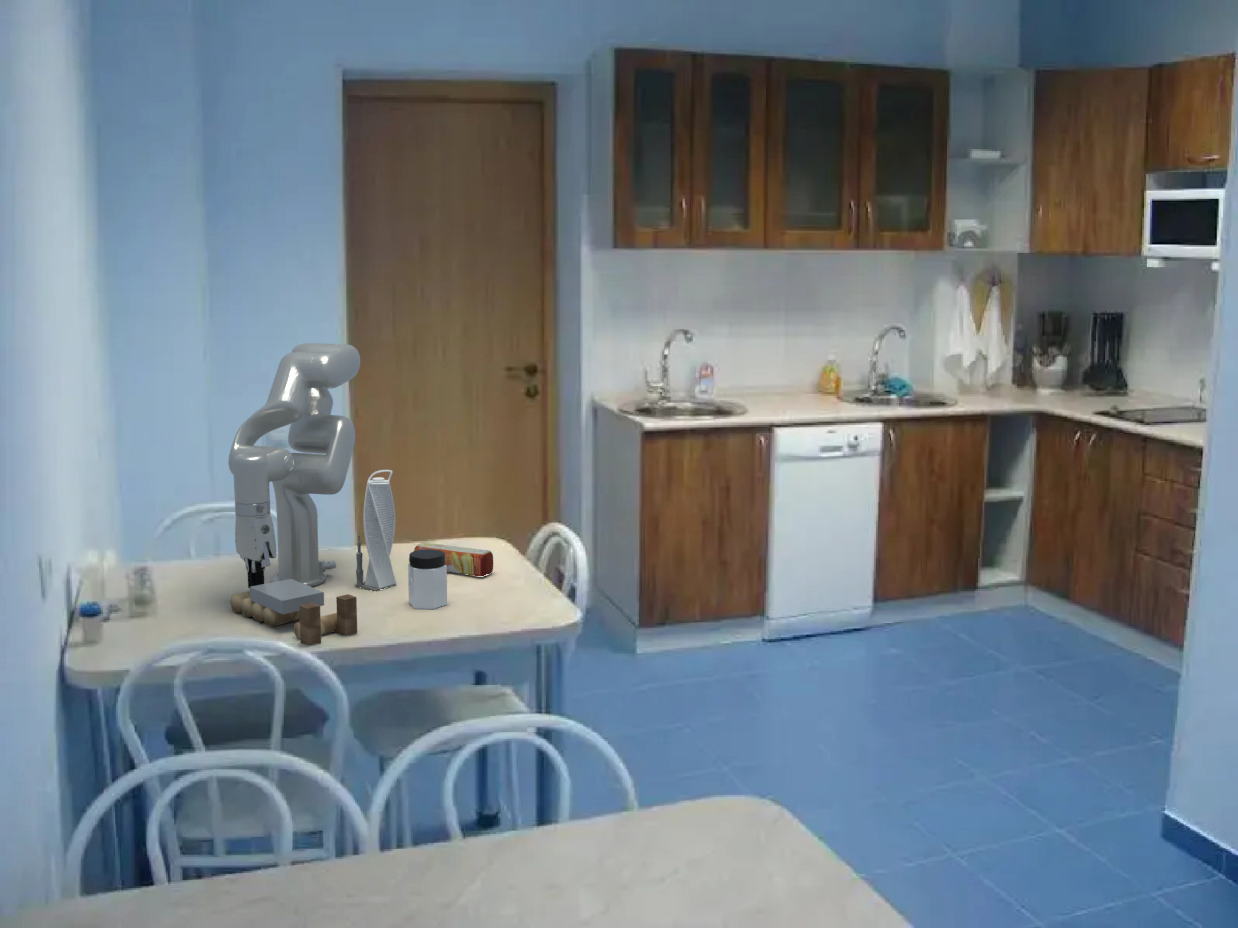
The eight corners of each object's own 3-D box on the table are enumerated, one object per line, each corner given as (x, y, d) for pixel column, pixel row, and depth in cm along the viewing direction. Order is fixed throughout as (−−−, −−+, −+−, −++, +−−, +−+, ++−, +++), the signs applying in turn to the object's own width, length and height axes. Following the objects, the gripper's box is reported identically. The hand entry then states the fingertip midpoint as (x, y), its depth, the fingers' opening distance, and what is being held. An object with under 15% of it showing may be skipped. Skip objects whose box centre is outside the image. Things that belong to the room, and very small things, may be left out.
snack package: (411, 568, 321) (410, 543, 320) (426, 563, 327) (426, 537, 326) (480, 580, 312) (480, 554, 310) (495, 574, 317) (495, 548, 316)
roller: (336, 609, 272) (346, 618, 270) (333, 623, 274) (342, 633, 271) (295, 618, 265) (305, 629, 263) (292, 633, 266) (302, 643, 264)
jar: (405, 600, 293) (404, 550, 291) (439, 597, 296) (438, 547, 294) (415, 611, 285) (415, 560, 283) (450, 607, 288) (450, 556, 286)
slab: (291, 591, 284) (290, 578, 284) (324, 605, 274) (323, 592, 274) (250, 600, 277) (249, 586, 277) (282, 614, 267) (282, 600, 267)
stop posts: (349, 630, 271) (348, 594, 270) (357, 633, 269) (356, 597, 268) (300, 642, 263) (299, 605, 261) (308, 645, 261) (307, 608, 259)
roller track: (270, 601, 290) (269, 584, 290) (313, 618, 278) (313, 600, 278) (230, 610, 283) (230, 592, 282) (273, 628, 271) (273, 609, 271)
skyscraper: (380, 579, 311) (378, 467, 305) (403, 584, 306) (402, 471, 301) (354, 586, 304) (351, 472, 299) (378, 592, 299) (376, 476, 294)
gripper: (286, 511, 279) (289, 591, 283) (249, 500, 289) (253, 577, 293) (255, 517, 274) (259, 598, 277) (219, 505, 284) (223, 584, 287)
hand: (256, 587), depth 285 cm, fingers closed
